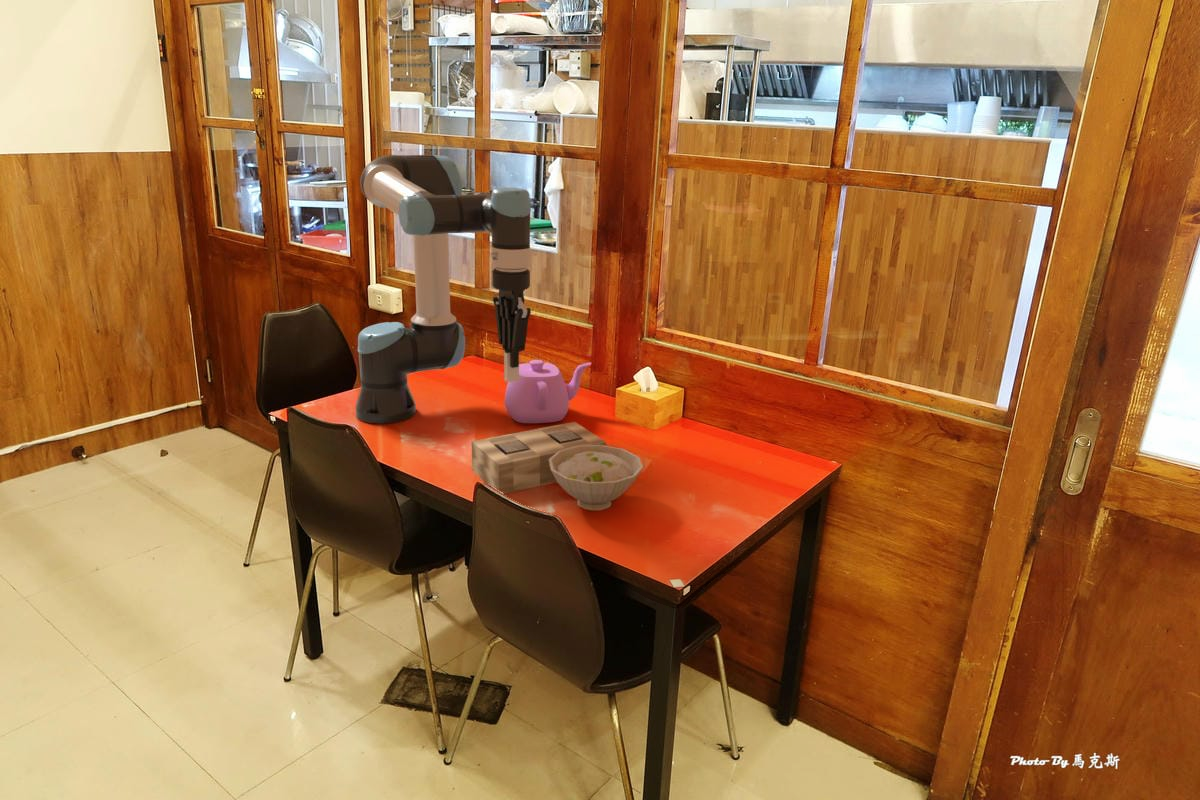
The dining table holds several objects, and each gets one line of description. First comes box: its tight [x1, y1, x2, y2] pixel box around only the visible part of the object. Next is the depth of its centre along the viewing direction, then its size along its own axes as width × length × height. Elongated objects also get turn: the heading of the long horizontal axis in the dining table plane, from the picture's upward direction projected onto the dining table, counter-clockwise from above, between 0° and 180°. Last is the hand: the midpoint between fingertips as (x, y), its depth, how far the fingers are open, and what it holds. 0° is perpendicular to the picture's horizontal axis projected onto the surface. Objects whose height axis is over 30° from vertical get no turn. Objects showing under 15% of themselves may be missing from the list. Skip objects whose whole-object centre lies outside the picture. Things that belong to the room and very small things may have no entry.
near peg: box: [497, 440, 528, 455], centre depth 173 cm, size 5×5×6 cm
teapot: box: [504, 359, 592, 424], centre depth 206 cm, size 23×21×15 cm
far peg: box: [550, 430, 580, 444], centre depth 179 cm, size 5×5×6 cm
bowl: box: [549, 445, 644, 511], centre depth 162 cm, size 19×19×10 cm
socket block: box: [471, 421, 607, 495], centre depth 176 cm, size 14×26×7 cm, turn 121°
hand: (511, 380), depth 167 cm, fingers closed
